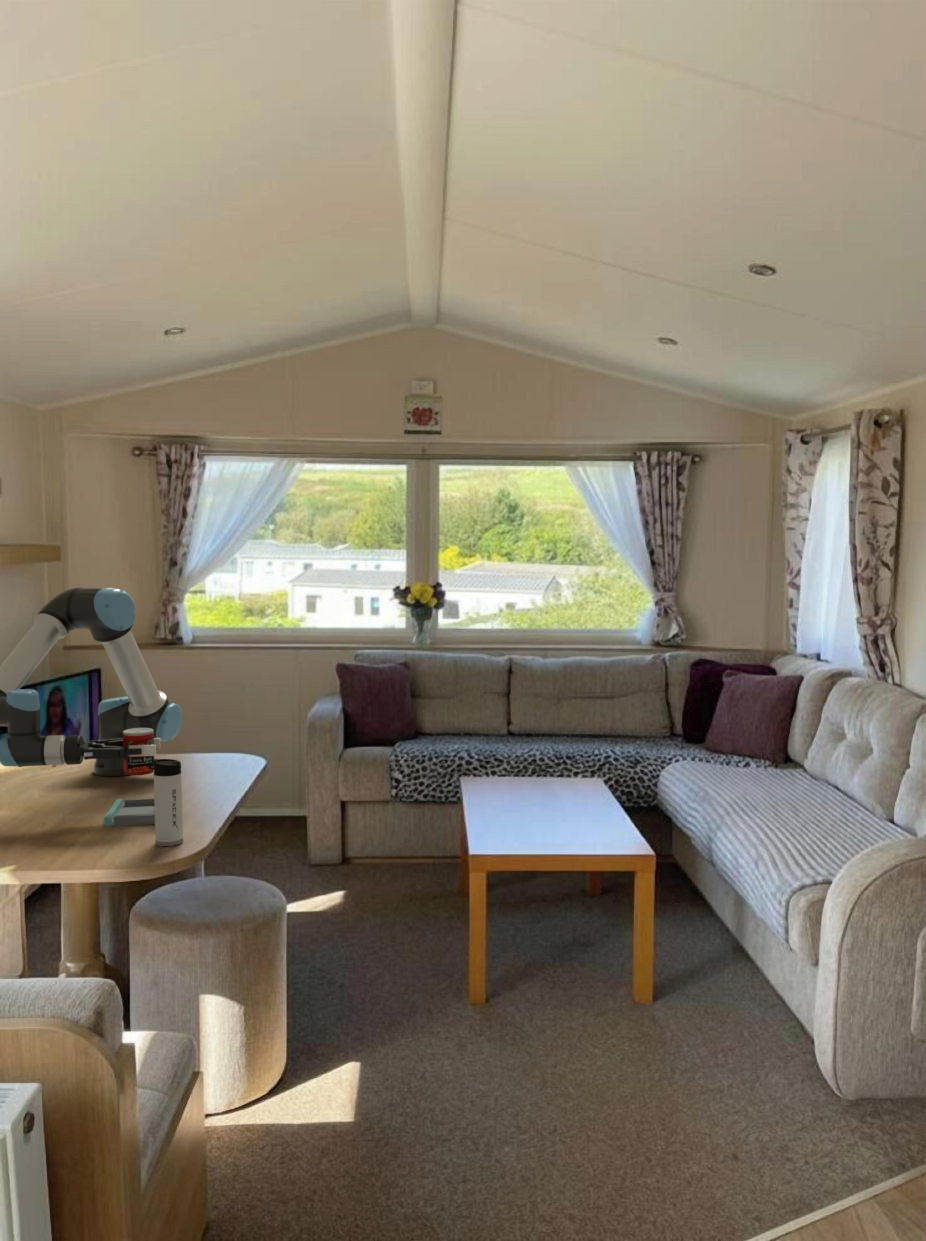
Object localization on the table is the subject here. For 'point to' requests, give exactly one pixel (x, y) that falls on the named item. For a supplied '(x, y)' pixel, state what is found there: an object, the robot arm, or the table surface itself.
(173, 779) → the travel mug
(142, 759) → the canned food
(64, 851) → the table surface
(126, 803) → the tray with upright backboard
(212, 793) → the table surface
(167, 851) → the table surface
